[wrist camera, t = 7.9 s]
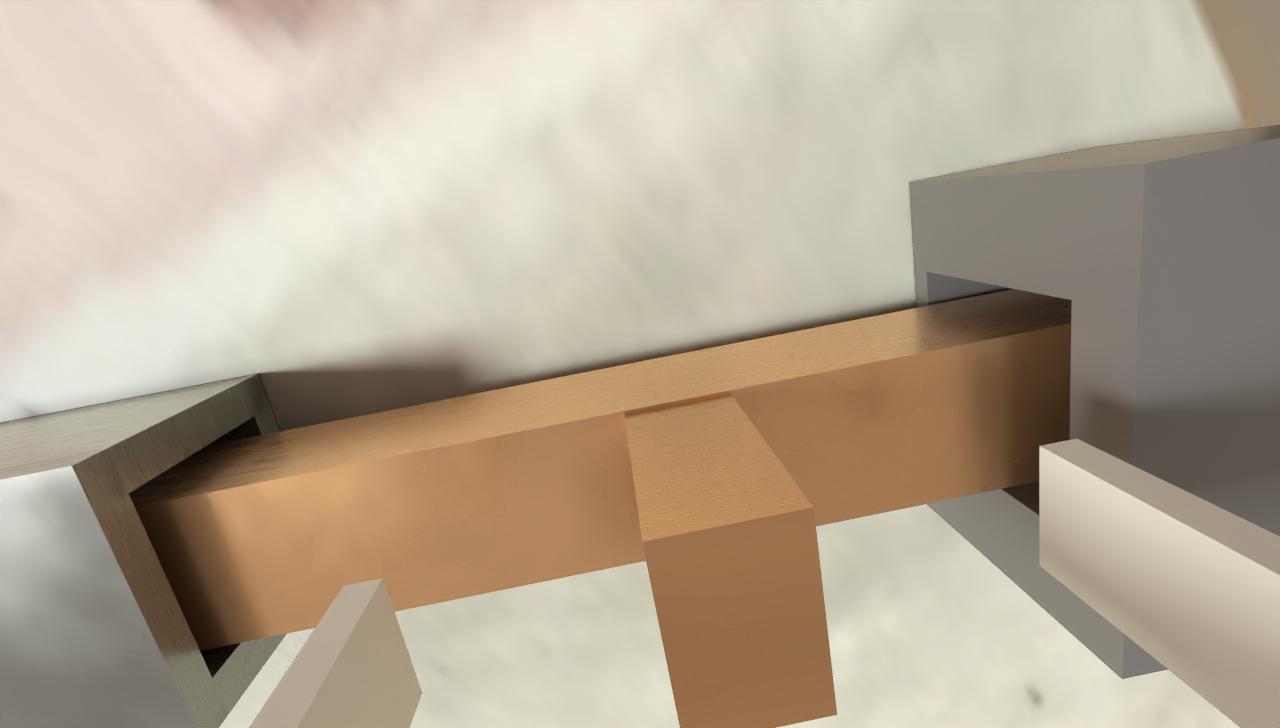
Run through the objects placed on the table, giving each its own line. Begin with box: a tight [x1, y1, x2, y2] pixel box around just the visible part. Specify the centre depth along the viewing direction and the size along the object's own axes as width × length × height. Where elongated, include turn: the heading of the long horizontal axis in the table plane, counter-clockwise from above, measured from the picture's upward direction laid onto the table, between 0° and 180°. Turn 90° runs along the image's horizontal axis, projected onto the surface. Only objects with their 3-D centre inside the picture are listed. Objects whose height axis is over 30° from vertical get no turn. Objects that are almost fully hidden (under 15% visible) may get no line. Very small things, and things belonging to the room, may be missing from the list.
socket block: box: [909, 125, 1280, 679], centre depth 18 cm, size 12×6×9 cm, turn 10°
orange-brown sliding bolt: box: [128, 289, 1072, 728], centre depth 15 cm, size 4×30×10 cm, turn 100°
